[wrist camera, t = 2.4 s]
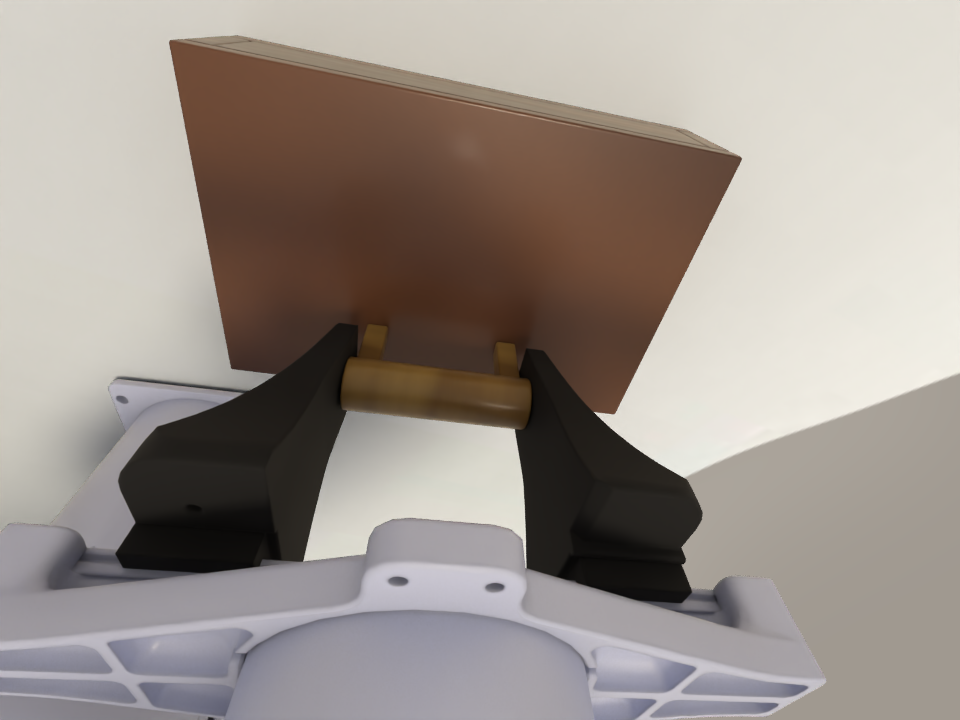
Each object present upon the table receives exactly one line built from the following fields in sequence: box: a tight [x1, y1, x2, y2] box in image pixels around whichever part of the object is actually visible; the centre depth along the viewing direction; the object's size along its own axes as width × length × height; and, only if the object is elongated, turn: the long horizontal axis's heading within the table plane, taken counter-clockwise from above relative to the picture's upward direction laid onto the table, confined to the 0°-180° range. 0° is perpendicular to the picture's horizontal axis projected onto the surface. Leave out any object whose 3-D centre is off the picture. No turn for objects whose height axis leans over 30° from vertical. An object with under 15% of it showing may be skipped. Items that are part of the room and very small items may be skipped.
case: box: [184, 35, 729, 152], centre depth 16 cm, size 9×15×3 cm, turn 80°
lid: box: [169, 39, 742, 430], centre depth 13 cm, size 10×15×4 cm
